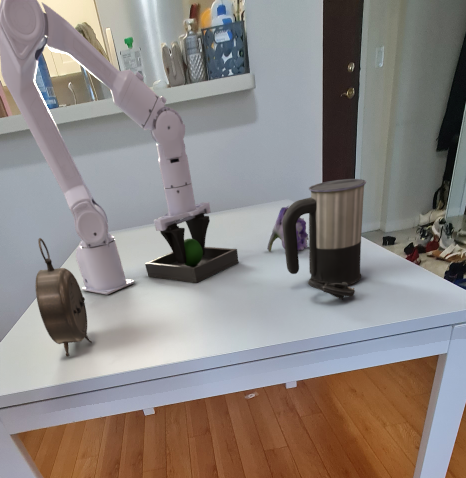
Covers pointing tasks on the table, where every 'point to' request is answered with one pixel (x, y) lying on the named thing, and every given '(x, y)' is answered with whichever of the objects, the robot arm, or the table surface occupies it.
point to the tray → (207, 267)
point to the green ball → (192, 252)
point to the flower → (278, 231)
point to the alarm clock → (61, 304)
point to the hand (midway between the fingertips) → (191, 259)
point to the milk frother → (329, 235)
